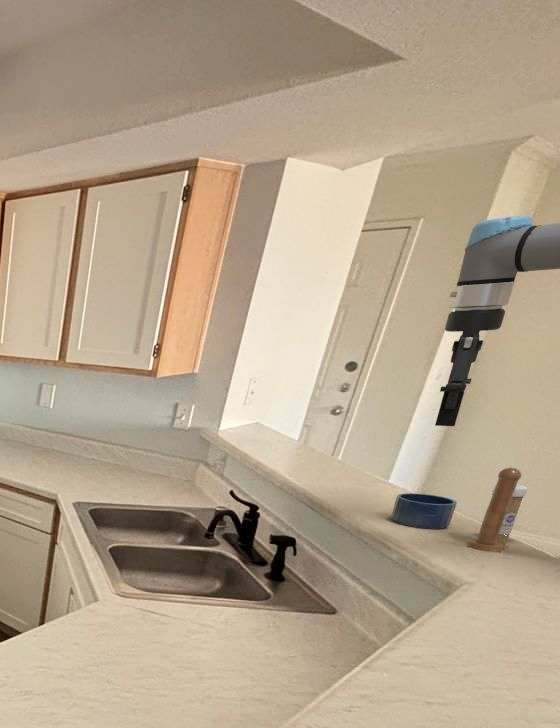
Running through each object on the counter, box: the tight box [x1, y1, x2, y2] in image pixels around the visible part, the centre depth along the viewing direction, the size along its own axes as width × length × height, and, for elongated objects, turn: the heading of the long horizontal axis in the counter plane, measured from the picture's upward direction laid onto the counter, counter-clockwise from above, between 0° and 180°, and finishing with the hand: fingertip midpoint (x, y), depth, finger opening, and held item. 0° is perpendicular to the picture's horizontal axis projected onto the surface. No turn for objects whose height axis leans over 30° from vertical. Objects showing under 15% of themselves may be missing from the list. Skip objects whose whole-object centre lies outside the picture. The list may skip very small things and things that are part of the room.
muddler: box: [466, 467, 522, 553], centre depth 117 cm, size 5×5×18 cm
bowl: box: [390, 492, 458, 530], centre depth 139 cm, size 10×10×6 cm
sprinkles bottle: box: [476, 484, 528, 550], centre depth 122 cm, size 5×5×14 cm
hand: (446, 421), depth 119 cm, fingers open, 13 cm apart
